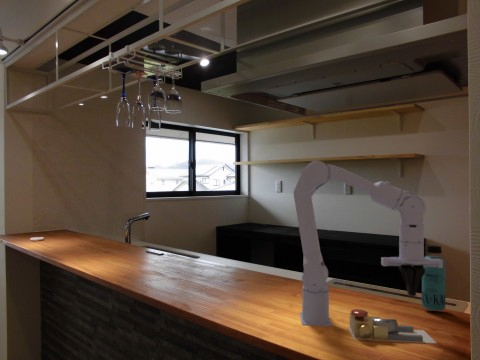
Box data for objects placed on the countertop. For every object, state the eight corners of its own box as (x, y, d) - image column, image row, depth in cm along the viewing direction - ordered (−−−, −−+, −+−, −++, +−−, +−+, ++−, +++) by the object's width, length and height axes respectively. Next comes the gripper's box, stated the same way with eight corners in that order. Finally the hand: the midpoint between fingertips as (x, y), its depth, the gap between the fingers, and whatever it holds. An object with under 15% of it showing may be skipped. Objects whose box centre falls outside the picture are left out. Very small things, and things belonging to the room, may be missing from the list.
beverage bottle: (420, 307, 114) (420, 243, 114) (444, 310, 111) (444, 244, 112) (422, 314, 108) (421, 246, 108) (447, 317, 105) (447, 247, 106)
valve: (347, 325, 97) (347, 305, 97) (378, 327, 97) (378, 306, 97) (355, 340, 88) (355, 318, 88) (389, 342, 87) (389, 319, 87)
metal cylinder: (368, 328, 94) (369, 314, 93) (392, 329, 93) (394, 315, 92) (372, 338, 90) (373, 324, 89) (397, 340, 90) (399, 325, 88)
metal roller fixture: (347, 328, 97) (347, 322, 97) (423, 331, 95) (423, 325, 95) (354, 340, 89) (354, 334, 89) (436, 344, 87) (436, 338, 87)
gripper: (386, 243, 91) (386, 298, 91) (448, 244, 90) (448, 300, 89) (379, 239, 98) (379, 290, 98) (436, 240, 97) (436, 292, 96)
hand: (411, 294), depth 94 cm, fingers closed
